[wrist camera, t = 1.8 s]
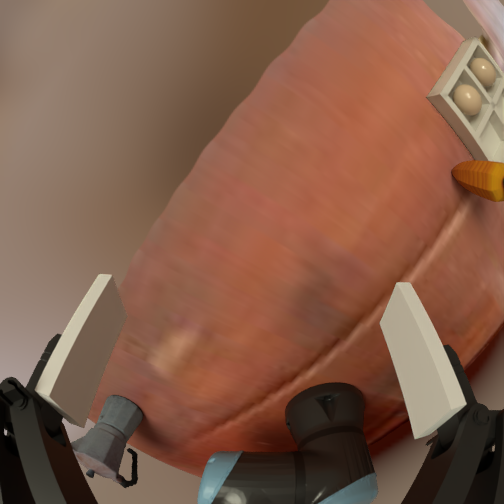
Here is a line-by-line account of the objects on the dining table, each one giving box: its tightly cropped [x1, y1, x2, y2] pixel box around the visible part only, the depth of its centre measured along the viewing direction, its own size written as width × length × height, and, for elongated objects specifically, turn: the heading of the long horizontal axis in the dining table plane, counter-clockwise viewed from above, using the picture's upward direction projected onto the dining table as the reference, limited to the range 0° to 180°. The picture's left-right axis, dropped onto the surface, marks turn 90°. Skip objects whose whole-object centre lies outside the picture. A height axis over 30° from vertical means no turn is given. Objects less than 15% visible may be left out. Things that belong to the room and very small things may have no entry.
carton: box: [426, 37, 504, 163], centre depth 25 cm, size 16×16×4 cm
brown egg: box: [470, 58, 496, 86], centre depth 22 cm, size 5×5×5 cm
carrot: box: [452, 160, 504, 202], centre depth 24 cm, size 5×5×15 cm
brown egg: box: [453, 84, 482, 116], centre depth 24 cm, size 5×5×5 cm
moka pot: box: [71, 395, 143, 488], centre depth 39 cm, size 10×15×20 cm, turn 49°
